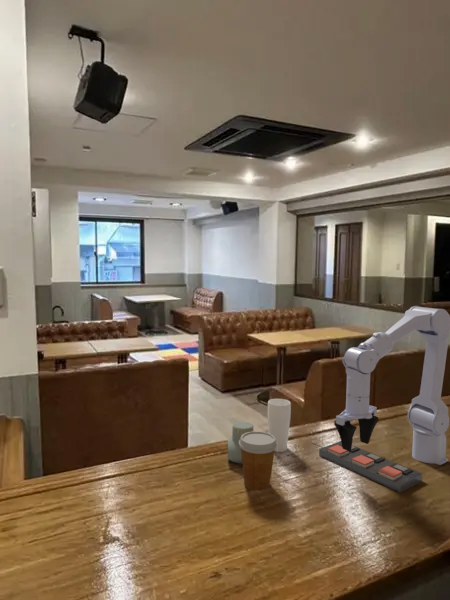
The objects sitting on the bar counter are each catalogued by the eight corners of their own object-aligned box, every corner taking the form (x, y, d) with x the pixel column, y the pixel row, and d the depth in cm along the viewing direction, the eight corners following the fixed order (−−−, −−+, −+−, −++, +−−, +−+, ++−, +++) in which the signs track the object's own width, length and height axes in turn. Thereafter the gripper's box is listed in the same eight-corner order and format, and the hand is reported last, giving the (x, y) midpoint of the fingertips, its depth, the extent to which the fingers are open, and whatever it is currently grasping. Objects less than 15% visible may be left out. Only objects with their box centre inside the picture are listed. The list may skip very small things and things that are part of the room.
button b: (360, 464, 119) (361, 454, 118) (373, 470, 115) (374, 460, 115) (351, 468, 116) (352, 458, 116) (364, 474, 113) (364, 464, 113)
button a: (336, 454, 125) (337, 444, 125) (348, 459, 122) (348, 449, 122) (327, 457, 123) (328, 448, 122) (339, 463, 119) (339, 453, 119)
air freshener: (258, 468, 118) (258, 432, 117) (227, 468, 118) (228, 432, 117) (255, 451, 129) (256, 418, 128) (227, 450, 129) (228, 417, 128)
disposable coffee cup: (255, 471, 116) (256, 427, 115) (283, 484, 109) (285, 438, 108) (229, 483, 109) (230, 437, 108) (258, 498, 103) (259, 449, 102)
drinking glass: (288, 457, 125) (290, 406, 124) (265, 455, 126) (266, 404, 125) (290, 447, 131) (291, 399, 130) (267, 445, 133) (268, 397, 132)
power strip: (322, 442, 136) (323, 431, 135) (421, 484, 110) (422, 471, 110) (300, 450, 130) (301, 439, 129) (399, 497, 104) (400, 483, 104)
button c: (387, 476, 112) (387, 465, 112) (401, 482, 109) (402, 471, 109) (378, 480, 110) (378, 470, 110) (392, 487, 107) (393, 476, 106)
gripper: (353, 403, 104) (351, 458, 106) (387, 393, 113) (385, 444, 114) (330, 396, 110) (328, 448, 111) (364, 387, 119) (362, 435, 120)
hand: (355, 445), depth 113 cm, fingers open, 7 cm apart
